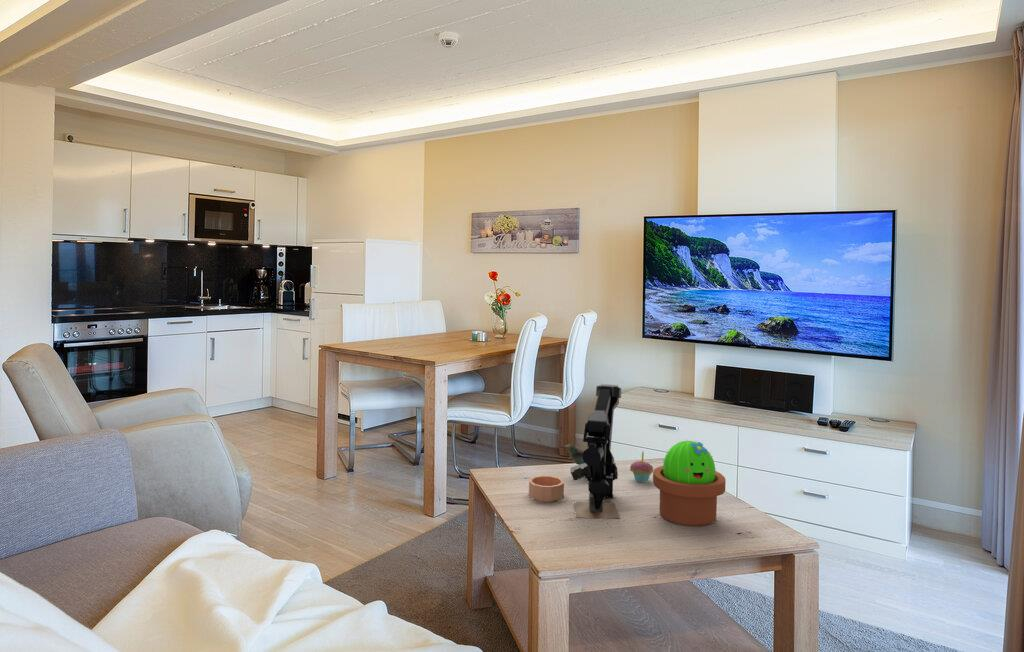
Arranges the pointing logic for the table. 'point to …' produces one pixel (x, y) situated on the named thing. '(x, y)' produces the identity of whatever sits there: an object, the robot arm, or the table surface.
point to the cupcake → (641, 470)
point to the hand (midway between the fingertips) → (595, 504)
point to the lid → (589, 510)
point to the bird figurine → (575, 453)
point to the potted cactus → (688, 485)
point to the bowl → (546, 488)
